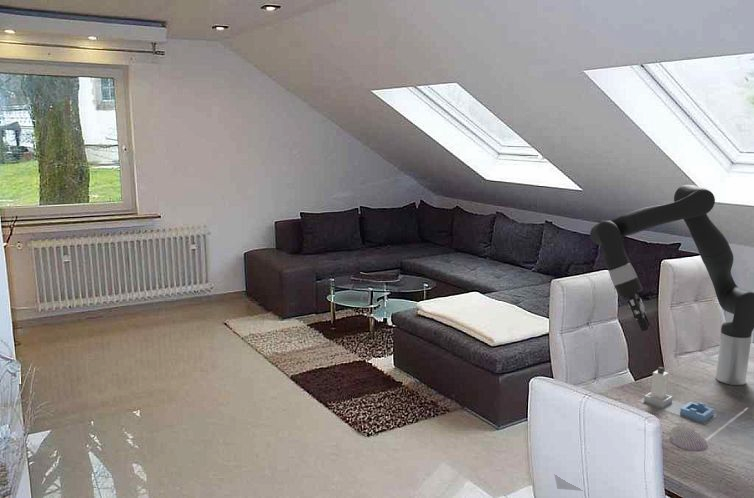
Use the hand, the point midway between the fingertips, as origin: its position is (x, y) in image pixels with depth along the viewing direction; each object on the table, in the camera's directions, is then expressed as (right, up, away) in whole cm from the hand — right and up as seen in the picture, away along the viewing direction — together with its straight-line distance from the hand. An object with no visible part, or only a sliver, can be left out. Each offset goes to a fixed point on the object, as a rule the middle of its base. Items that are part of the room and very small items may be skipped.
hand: (646, 328), depth 194 cm
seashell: (+4, -30, -19) cm, 36 cm away
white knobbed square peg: (+6, -24, +5) cm, 25 cm away
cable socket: (+10, -26, 0) cm, 28 cm away
